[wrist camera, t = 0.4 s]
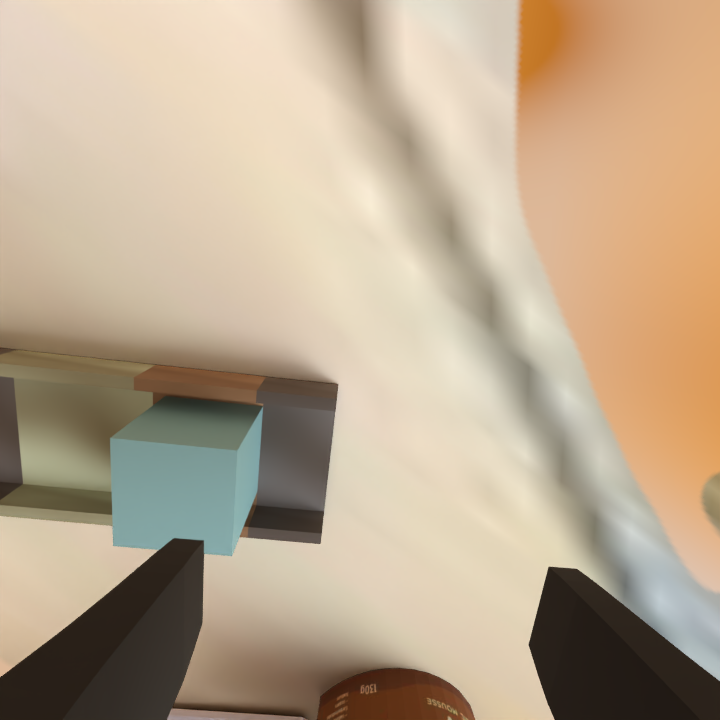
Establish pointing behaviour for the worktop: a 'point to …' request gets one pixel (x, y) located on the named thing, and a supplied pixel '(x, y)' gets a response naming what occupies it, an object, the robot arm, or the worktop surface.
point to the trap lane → (124, 404)
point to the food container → (394, 698)
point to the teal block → (185, 474)
